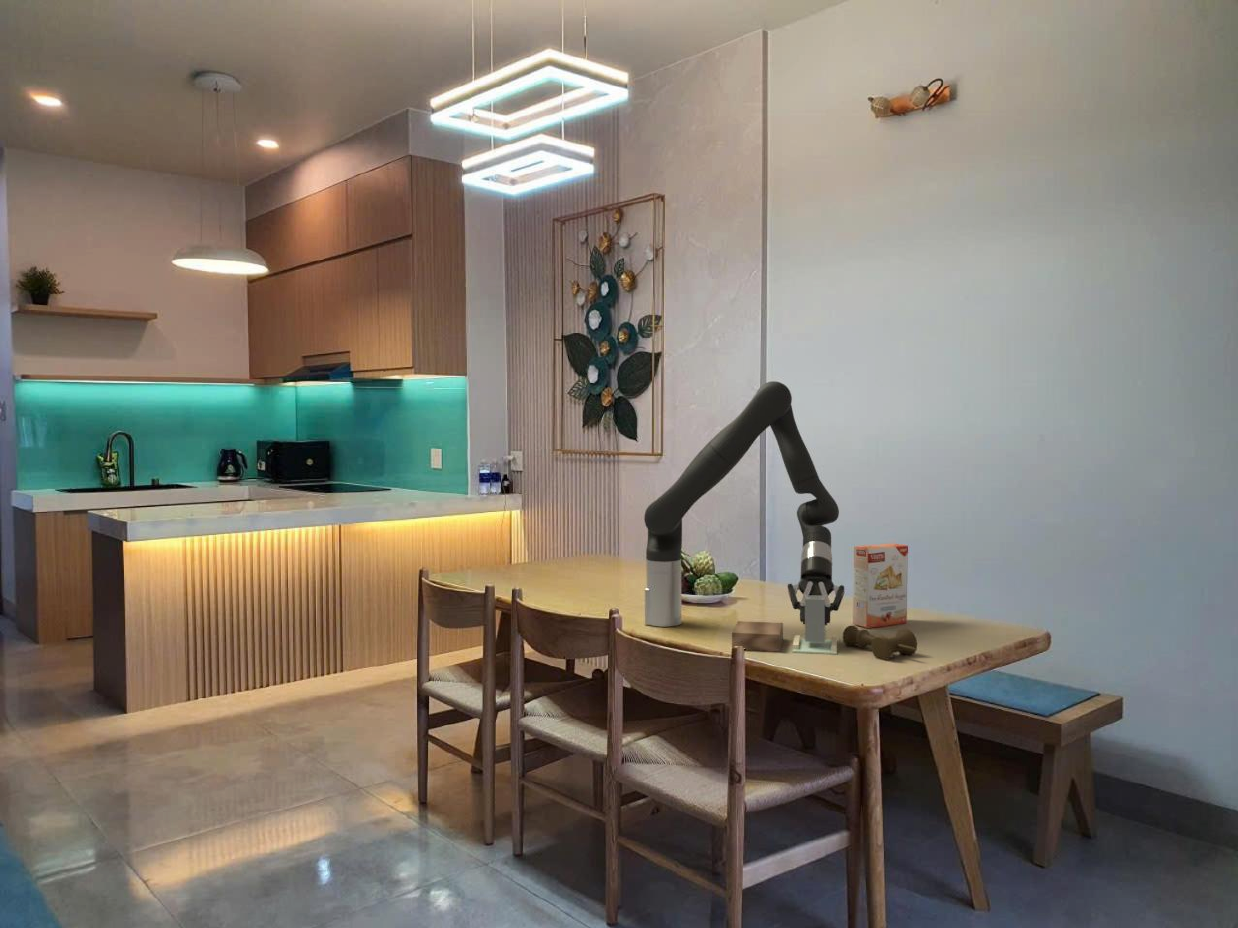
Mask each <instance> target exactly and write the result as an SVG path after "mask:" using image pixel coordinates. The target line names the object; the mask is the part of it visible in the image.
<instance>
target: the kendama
mask: <svg viewBox="0 0 1238 928" xmlns="http://www.w3.org/2000/svg"><path fill="white" fill-rule="evenodd" d="M842 641H843V643H844V645H845V646H846V647H853V646H858V647H859V648H861V649H864V648H867V647H868V646H870V649H871V652H872V654H873V656H874V658H876V659H878V660H882V661H887V660H889V659H890V658H891V657H892V655H893V654H894V653H901V654H903V655H908V656H912V655H914V654H916V651H917V650H918V648H917V647H918V640H917V637H916V636H915V633H914V632H912V631H911V630H910V629H907V628H901V629H899V630H897V632H896V634H895V636H894V637H893V636H892V637H890V638H889V637H886V636H883V635H876V636H875V635H872V634H871V632H870V631H869V630H868V629H858V627H857V626H855V625H848V626H846V628H845V629H844V631H843V633H842Z"/></svg>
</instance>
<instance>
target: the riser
mask: <svg viewBox="0 0 1238 928" xmlns="http://www.w3.org/2000/svg"><path fill="white" fill-rule="evenodd" d="M783 641H784V623H783V622H770V621H769V622H767V621H766V622H765V621H742V620H741V621H740V620H738V621H737V623H736V625H735V626H734V628H733V630H732V632H731V649H732V648H733V647H734V646H742V647H743V648H745V649H746V650H745V651H752V650H767V651H766V652H773V651H779V652H780V650H781V648H782V644H783Z"/></svg>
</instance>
